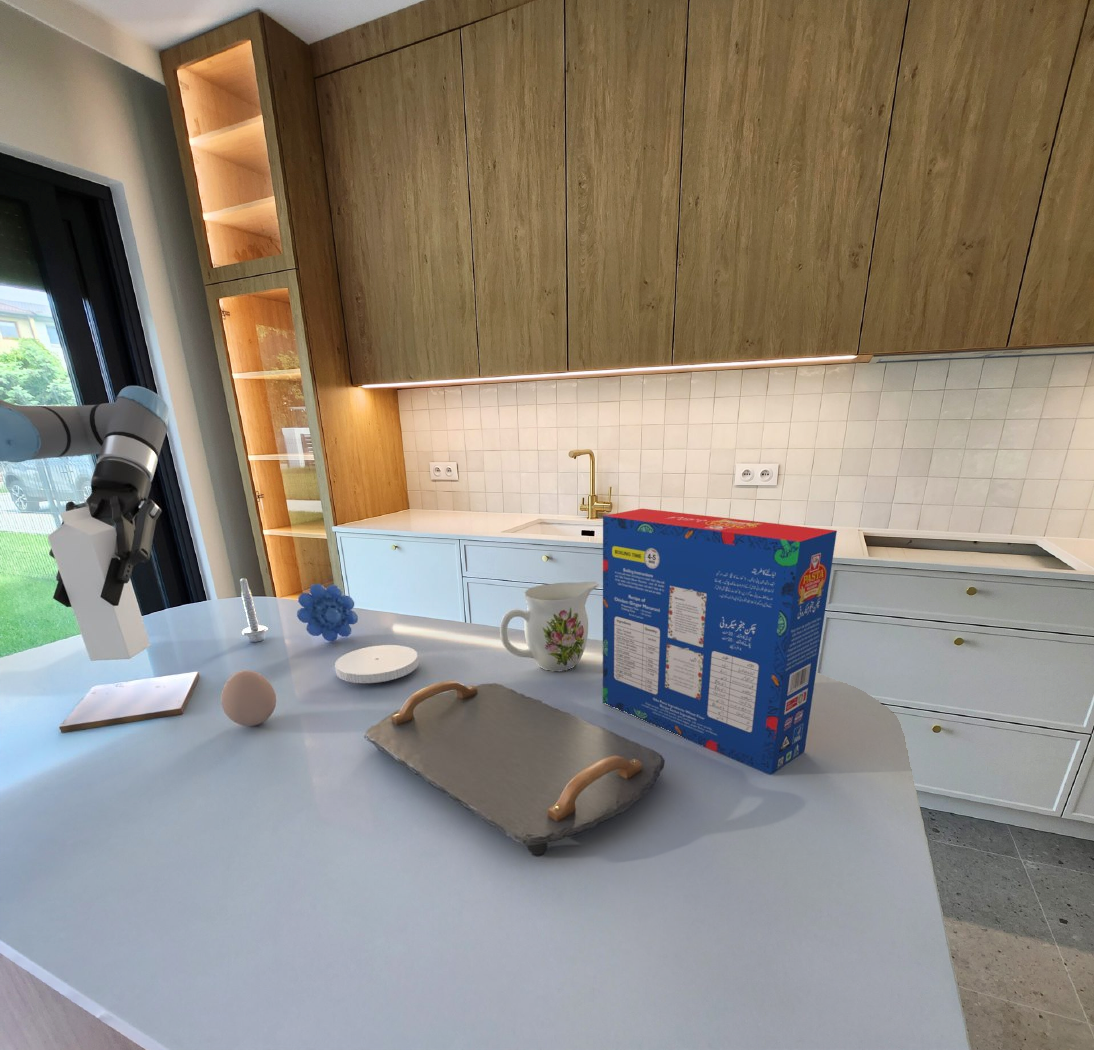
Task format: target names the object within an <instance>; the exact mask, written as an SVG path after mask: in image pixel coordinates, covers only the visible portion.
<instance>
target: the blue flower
mask: <svg viewBox="0 0 1094 1050" xmlns="http://www.w3.org/2000/svg"><path fill="white" fill-rule="evenodd" d="M298 603H299V605H300V606H301V607H300V608H298V610H297V611H296V617H297V619H298V620H299V621H300V622H301V623H303V624H306V631H307V633H308V634H309V635H310V636H312V637H319V636H322V638H323V639H324V640H325V641H327V642H335V641H336V640H337V639H338V638H339V637H338V636H340V637H349V636H350V635H351V634H352V627H351V626H350V625H355V624H357V623H358V620H359V616H358V614H357V613H356V612H355V611H354V610H352V609H354V607H355V601H354V599H353V598H352V596H349V595H343V591H342V589H341V588H340V586H338V585H336V584H330V585H328V586H327V587H326V588H325V587H324V585H322V584H321V583H313V584H312V585H311V586H310V587H309V593H308V592H302V593H300V594H299V595H298Z"/></svg>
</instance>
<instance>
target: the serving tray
mask: <svg viewBox="0 0 1094 1050" xmlns="http://www.w3.org/2000/svg"><path fill="white" fill-rule="evenodd" d="M363 738H364V739H365V740H366V741H367V742H369V744H371V745H373V746H374V747H375V748H377V750H378V749H380V750H379V751H382V752H383V753H385V754H386V755H388V756H389V757H391V758H392V759H394V760H395V761H396V762H397V763H399V764H401V765H403V766H405V767H406V768H407V769H408V770H409V771H412V772H413V773H414V774H415V775H417V776H419V777H420V778H422V779H424V780H425V781H427V782H428V784H429V785H432V786H434V787H435V788H436V789H437V790H439V791H441V792H442V793H443V794H445V795H447V796H448V797H449V798H450V799H451V800H454V801H455V802H456V803H458V804H460V805H462V807H464V808H465V809H467V810H469V811H471V812H472V813H473V814H475V815H476V816H477V817H478V818H480V819H481V820H483V821H485V822H487V823H488V824H490V825H491V826H493V827H494V828H496V829H497V830H499V831H500V832H502V833H503V834H504V835H505V836H507V837H508V838H510V839H512V840H513V841H515V842H517V843H518V844H520V845H522V846H526V848H527V850H528V852H529V853H530V854H531V855H532V856H534V857H541V856H543V855H544V853H546V852H545V851H547V848H548V845H549V844H548V843H550V842H555V841H559V840H562V839H564V838H566V837H569V836H574V835H576V834H579V833H582V832H586V831H588V830H591V829H593V828H595V827H596V826H598V825H600V824H601V823H604V822H605V821H607V820H610V819H612V818H614V817H616V816H618V815H620V814H622V813H624V812H625V811H627V810H628V809H629V808H631V807H632V806H633V805H634V804H635V803H636V802H638V801H639V800H641V798H642V797H643V795H644V794H645V793H647V792H648V791H649V790H651V789H652V788H653V786H654V785H655V783H656V782H657V780H658V778H659V777H660V776H661V772H662V771H663V770H664V767H665V761H666V760H665V758H664V756H663V755H662V754H661V753H659V752H657V751H655V750H654V749H652V748H649V747H646V746H645V745H642V744H640V743H638V742H635V741H633V740H630V739H627V738H625V737H623V736H621V735H620V734H617V733H616V732H613V731H610V730H608V729H606V728H603V727H601V726H600V727H599V726H597V725H594V724H591V723H590V722H587V721H585V720H584V719H582V718H580V717H578V716H576V715H574V714H572V713H570V712H567V711H564V710H561V709H559V708H556V707H553V706H551V705H549V704H547V703H544V702H543V701H542V700H540V699H537V698H533V697H531V696H527V695H525V694H524V693H522V692H521V693H519V692H518V691H516V690H514V689H512V688H509V687H507V686H505V685H502V684H500V683H499V684H498V683H496V682H495V683H481V684H479V685H469V686H465V685H464V684H463V683H460V682H458V681H456V680H445V681H440V682H437V683H434V684H431V685H429V686H426V687H423V688H421V689H420V690H418V691H416V692H414V693H413V694H411V695H410V696H409V697H408V698H407V699H406V700H405V702H404V703H403V705H402V706H401V708H399V709H397V710H396V711H394V712H392V713H391V714H389V715H388V716H386V717H384V718H383V719H381V720H380V721H378V722H377V723H376V724H374V725H371V727H369V728H368V729H367V731H365V733H364V735H363Z"/></svg>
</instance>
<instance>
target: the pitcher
mask: <svg viewBox="0 0 1094 1050" xmlns="http://www.w3.org/2000/svg"><path fill="white" fill-rule="evenodd" d="M598 586H600V582H598V581H582V582H581V581H580V582H556V583H554V582H553V583H545V584H542V585H536V586H534V587H533V586H532V587H530V588H528V589H526V590H525V591H524V598H525V602H526V606H527V607H526V610H524V609H521V608H512V609H510V610H508V611H506V613H505V614H504V615H503V616H502V618H501V620H500V624H499V636H500V641H501V643H502V645H503V647H504V648H505V649H506V650H507V651H508V652H509V653H510V654H512V655H513V656H516V657H519V658H527V659H529V658H530V659H533V660H534V662H535V663H536V664H537V665H538V667H539V666H540V667H541V668H543V669H545V670H544V671H547V670H552V671H551V672H554V671H558V672H560V671H559V670H566V669H569V668H571V667H573V666H575V665H576V666H577V664H578V663H579V661H580V660H581V659H582V657H583V655H584V652H585V649H586V647H587V641H588V637H589V617H588V613H587V610H586V609H587V608H586V603H587V600H588V598H589V596H590V594H591V592H593V590H595V589H596V588H597V587H598ZM514 618H523V619H524V621H523V623H524V624H523V628H524V638H525V641H526V646H527V649H524V648H523V649H522V648H519V647H516V646H515V645H514V644H512V643H511V642H510V640H509V637H508V636H509V635H508V626H509V624H510V621H511V620H512V619H514ZM576 666H575V667H576ZM540 667H539V668H540ZM541 668H540V669H541ZM543 669H542V670H543ZM566 671H567V670H566Z"/></svg>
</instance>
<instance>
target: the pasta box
mask: <svg viewBox="0 0 1094 1050" xmlns="http://www.w3.org/2000/svg"><path fill="white" fill-rule="evenodd" d="M837 532H838V530H837V529H836V530H835V529H827V528H818V527H817V528H816V527H809V526H802V525H801V526H800V525H790V524H781V523H774V522H764V521H755V520H748V519H739V518H738V519H737V518H729V517H723V516H722V517H720V516H711V515H703V514H694V513H686V512H678V511H677V512H676V511H666V510H657V509H651V508H638V509H632V510H627V511H621V512H616V513H611V514H606V515H602V704H603V703H606V704H608V705H610V706H612V707H615V708H618V709H619V710H621V711H625V712H627V713H628V714H632V715H634V716H636V717H638V718H640V719H643V720H645V721H647V722H649V723H648V724H650V723H652V724H655V725H656V726H655V727H657V726H659V727H662V728H664V729H666V730H669V731H671V732H673V733H675V734H678V735H680V736H682V737H684V738H683V739H685V738H686V739H685V740H687V739H688V740H687V741H690V740H691V741H690V742H692V741H693V743H694V742H695V743H694V744H697V743H698V744H697V745H699V744H700V745H699V746H701V745H703V746H702V747H703V748H706V749H708V748H709V749H708V750H711V751H713V752H715V753H718V754H720V755H723V756H724V757H727V758H729V759H732V760H734V761H736V762H739V763H741V764H744V765H746V766H749V767H750V768H753V769H755V770H757V771H760V772H762V773H764V774H767V775H769V776H772V775H773V774H774V773H776V772H778V771H780V770H781V769H782V768H783V767H785V766H786V765H787V764H789V763H790V762H792V761H793V760H795V759H796V758H798V757H799V756H800V755H802V754H804V752H806V751H805V750H806V744H807V737H808V731H809V730H808V729H809V724H810V718H811V717H810V716H811V711H812V704H813V695H814V689H815V681H816V676H817V668H818V662H819V657H820V656H819V654H820V649H821V642H822V635H823V629H824V620H825V615H826V614H825V613H826V608H827V600H828V593H829V587H830V580H831V573H832V568H833V567H832V565H833V560H834V553H835V548H836V547H835V546H836V540H837ZM610 706H609V707H610ZM612 707H611V708H612ZM619 710H618V711H619ZM621 711H620V712H621ZM628 714H627V715H628ZM638 718H637V719H638ZM640 719H639V720H640ZM643 720H642V721H643ZM645 721H644V722H645ZM647 722H646V723H647ZM652 724H651V725H652ZM659 727H658V728H659ZM664 729H663V730H664ZM666 730H665V731H666ZM671 732H670V733H671ZM673 733H672V734H673ZM675 734H674V735H675ZM678 735H677V736H678ZM680 736H679V737H680ZM682 737H681V738H682Z"/></svg>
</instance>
